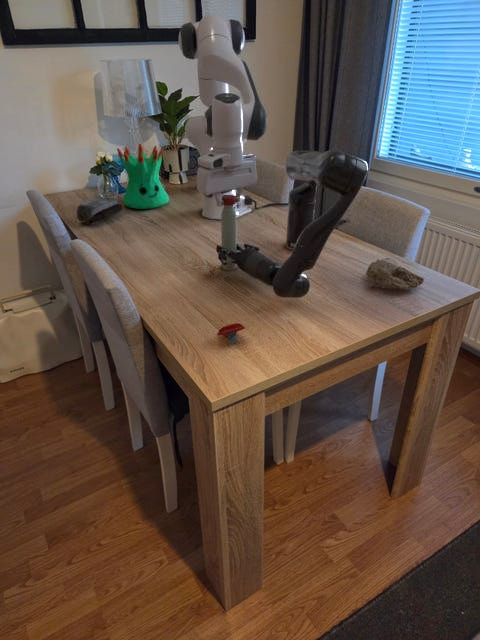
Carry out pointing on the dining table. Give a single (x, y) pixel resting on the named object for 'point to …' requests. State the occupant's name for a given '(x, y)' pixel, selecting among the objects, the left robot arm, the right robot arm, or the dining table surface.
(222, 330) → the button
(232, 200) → the cap
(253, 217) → the dining table surface
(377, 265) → the artifact
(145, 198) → the toy
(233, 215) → the bottle
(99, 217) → the rock
